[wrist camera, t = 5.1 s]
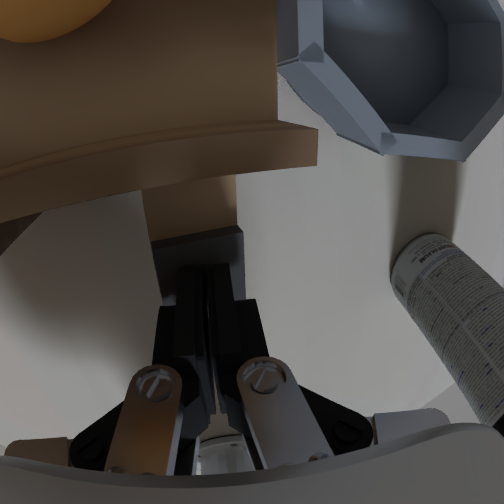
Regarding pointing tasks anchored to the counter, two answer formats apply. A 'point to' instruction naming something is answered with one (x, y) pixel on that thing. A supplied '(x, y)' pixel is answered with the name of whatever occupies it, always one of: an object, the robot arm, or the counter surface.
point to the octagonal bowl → (397, 70)
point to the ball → (45, 18)
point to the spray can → (457, 318)
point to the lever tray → (151, 123)
